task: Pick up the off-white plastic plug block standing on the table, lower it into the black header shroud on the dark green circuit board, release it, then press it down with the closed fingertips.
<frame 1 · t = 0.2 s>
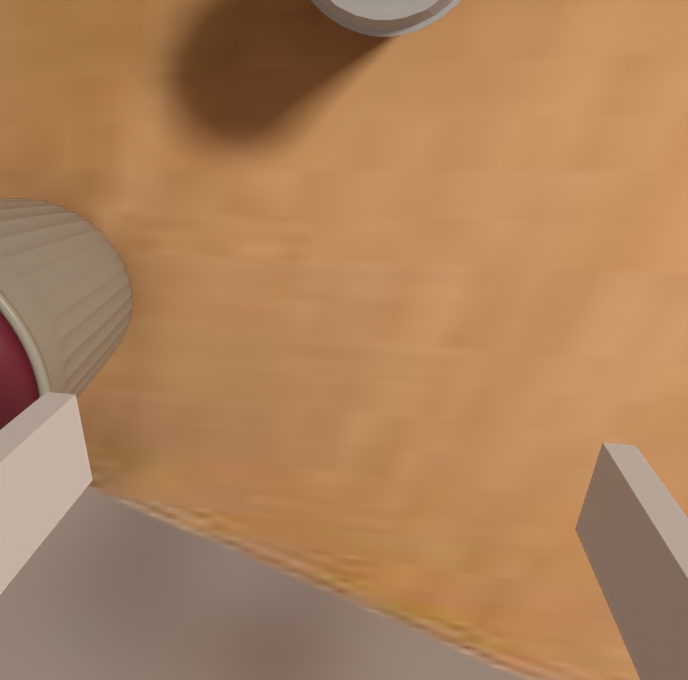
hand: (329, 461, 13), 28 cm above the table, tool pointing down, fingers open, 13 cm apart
canister: (65, 278, 42), on the table
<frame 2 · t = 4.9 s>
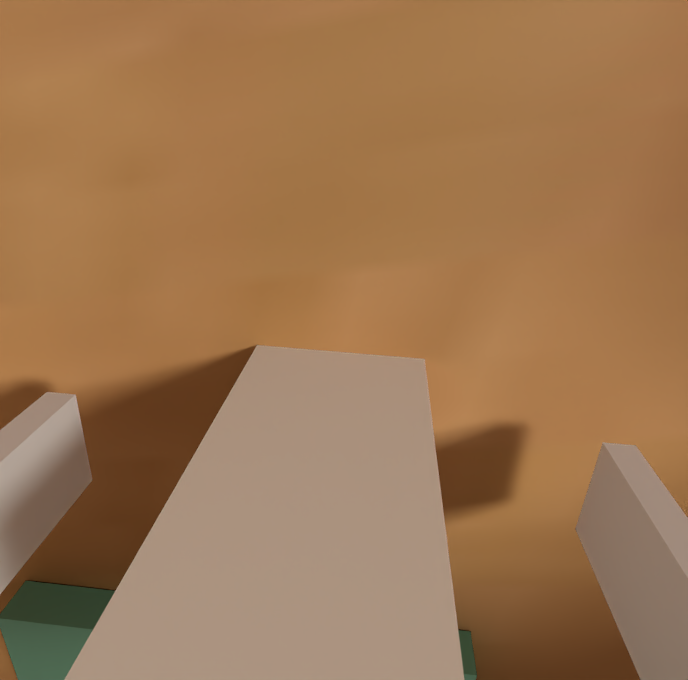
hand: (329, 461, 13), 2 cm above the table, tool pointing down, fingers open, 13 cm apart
plug: (336, 422, 15), on the table
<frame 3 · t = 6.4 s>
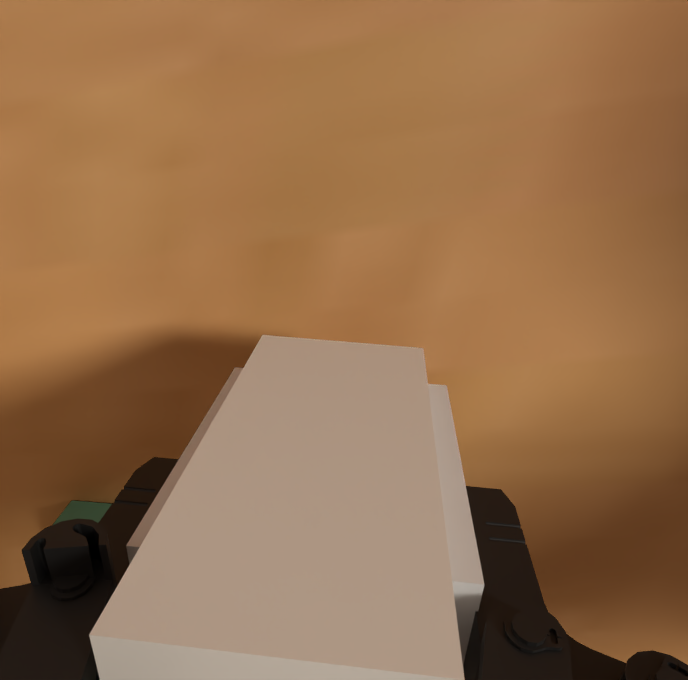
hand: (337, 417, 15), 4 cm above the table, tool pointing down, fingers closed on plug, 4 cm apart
plug: (338, 410, 15), point 4 cm above the table, touching gripper
board: (256, 664, 26), on the table
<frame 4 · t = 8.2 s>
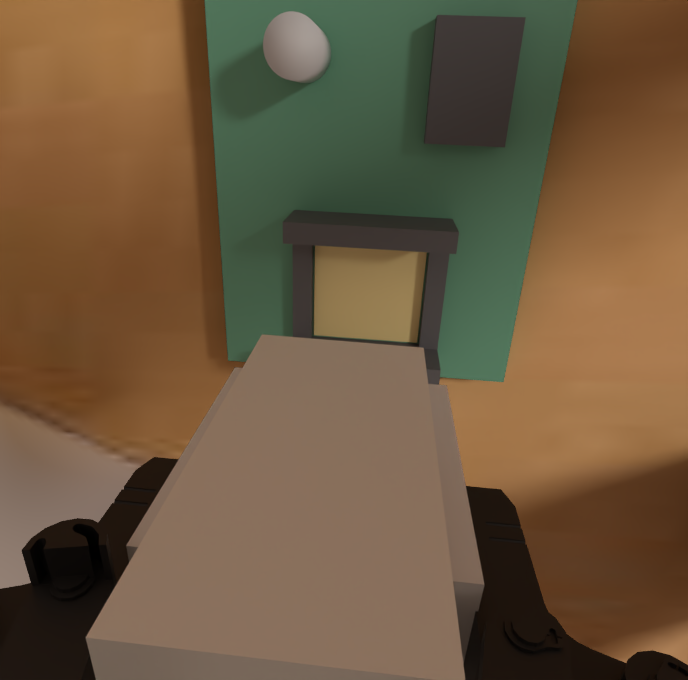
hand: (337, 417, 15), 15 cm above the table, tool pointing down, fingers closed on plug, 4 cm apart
plug: (338, 410, 15), point 15 cm above the table, touching gripper
board: (375, 189, 27), on the table
when the fingers open (3 cm above the table, at t = 10.1 s): plug drops 1 cm, resting on board.
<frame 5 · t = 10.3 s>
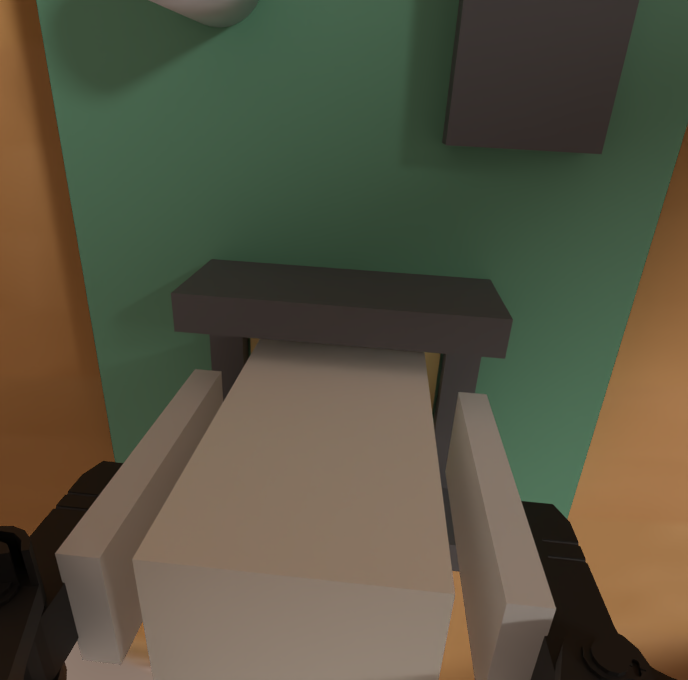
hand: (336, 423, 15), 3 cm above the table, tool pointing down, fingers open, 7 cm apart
plug: (342, 390, 16), point 2 cm above the table, touching board
board: (354, 223, 16), on the table
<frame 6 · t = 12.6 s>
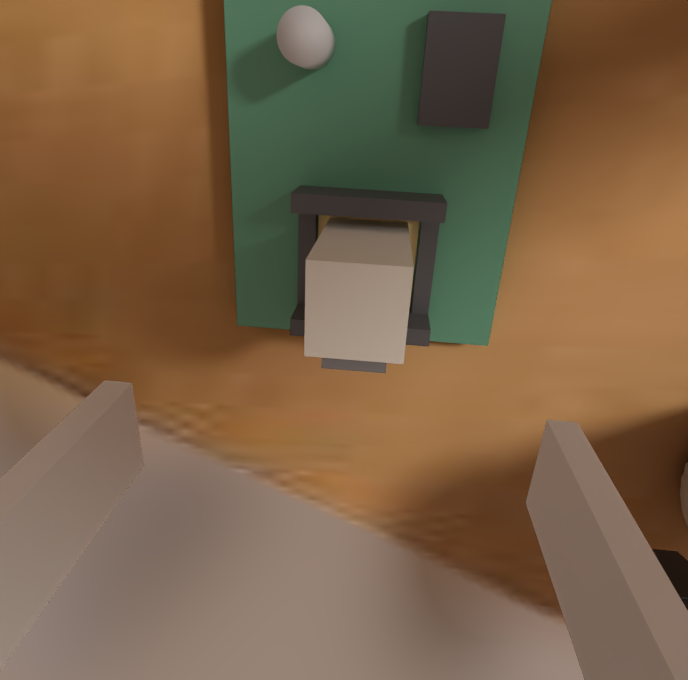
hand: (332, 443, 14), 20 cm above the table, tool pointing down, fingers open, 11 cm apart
plug: (366, 258, 30), point 2 cm above the table, touching board
board: (373, 168, 30), on the table
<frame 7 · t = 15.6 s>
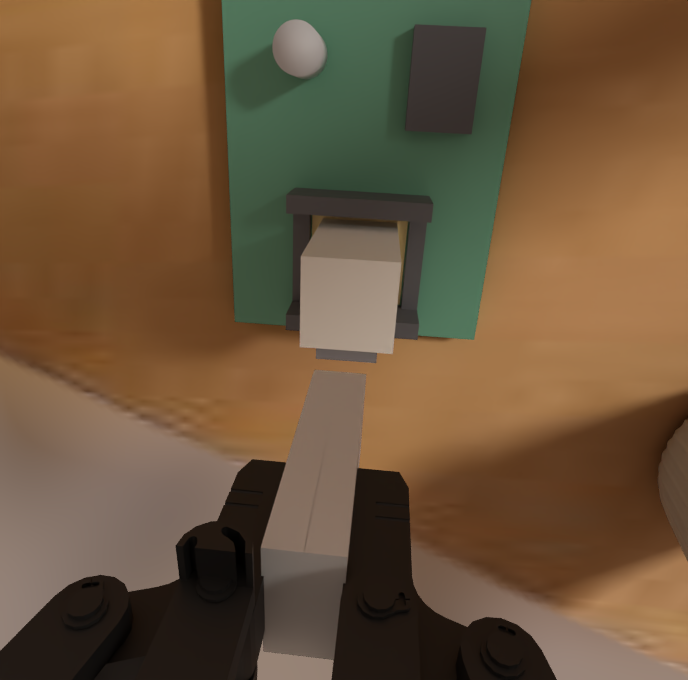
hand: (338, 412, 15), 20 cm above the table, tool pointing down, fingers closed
plug: (357, 256, 32), point 2 cm above the table, touching board
board: (363, 171, 31), on the table
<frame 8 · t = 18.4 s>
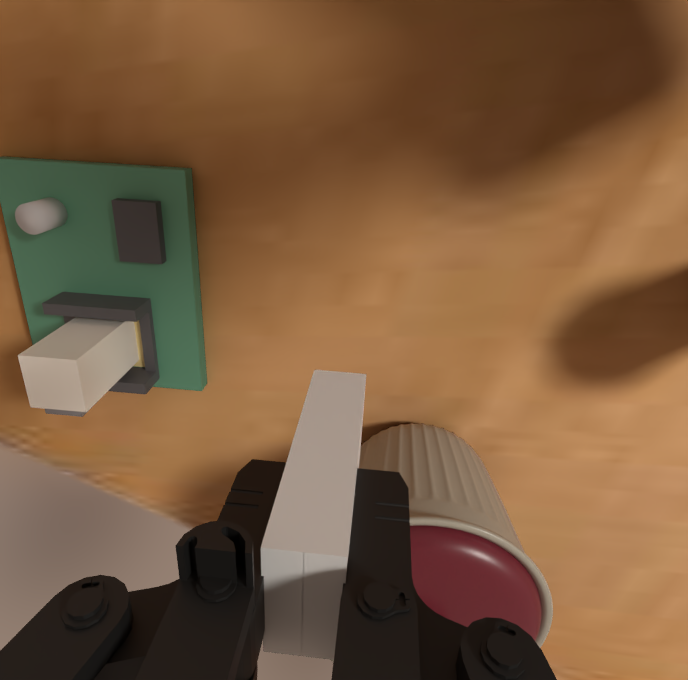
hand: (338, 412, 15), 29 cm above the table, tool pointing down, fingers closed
plug: (112, 335, 47), point 2 cm above the table, touching board
board: (113, 278, 46), on the table
canister: (414, 468, 52), on the table
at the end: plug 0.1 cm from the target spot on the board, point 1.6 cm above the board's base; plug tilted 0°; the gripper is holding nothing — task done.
